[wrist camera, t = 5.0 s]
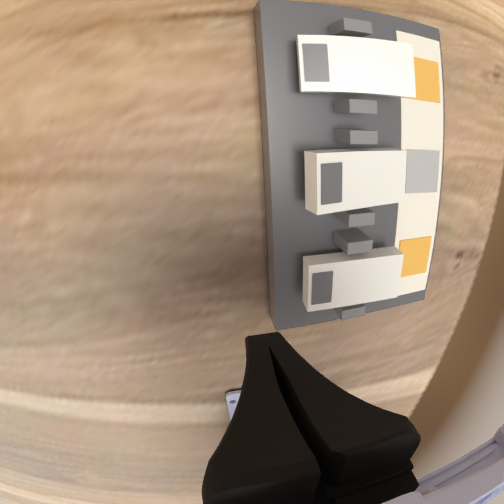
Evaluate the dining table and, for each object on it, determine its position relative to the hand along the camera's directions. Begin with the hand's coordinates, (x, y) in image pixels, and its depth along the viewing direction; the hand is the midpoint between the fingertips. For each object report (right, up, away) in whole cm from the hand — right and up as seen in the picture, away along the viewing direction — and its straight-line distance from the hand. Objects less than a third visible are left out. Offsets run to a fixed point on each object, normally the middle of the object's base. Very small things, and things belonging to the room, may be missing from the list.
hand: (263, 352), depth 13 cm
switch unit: (+6, +9, +7) cm, 13 cm away
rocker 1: (+5, +13, +1) cm, 14 cm away
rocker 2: (+5, +8, +4) cm, 10 cm away
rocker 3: (+6, +2, +6) cm, 9 cm away
